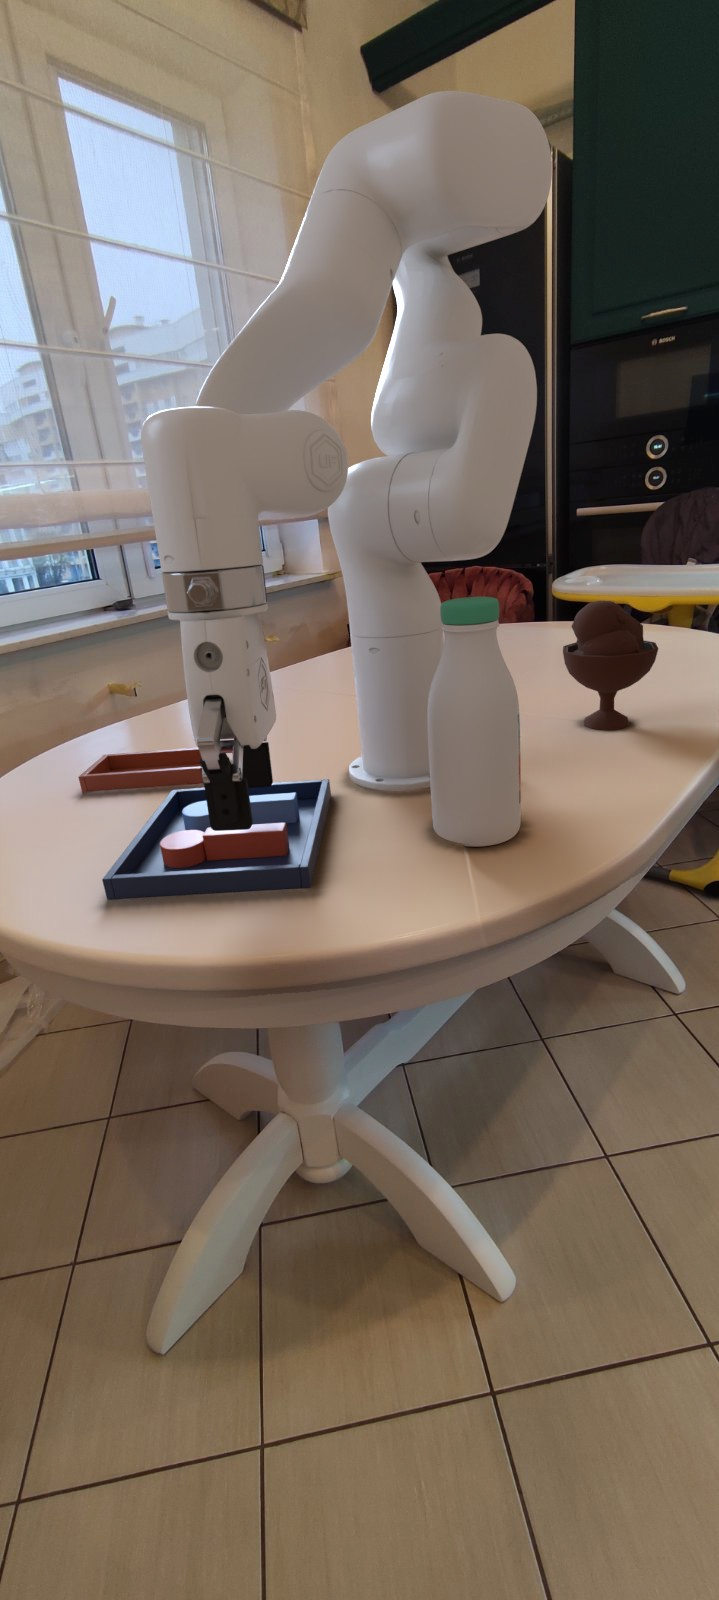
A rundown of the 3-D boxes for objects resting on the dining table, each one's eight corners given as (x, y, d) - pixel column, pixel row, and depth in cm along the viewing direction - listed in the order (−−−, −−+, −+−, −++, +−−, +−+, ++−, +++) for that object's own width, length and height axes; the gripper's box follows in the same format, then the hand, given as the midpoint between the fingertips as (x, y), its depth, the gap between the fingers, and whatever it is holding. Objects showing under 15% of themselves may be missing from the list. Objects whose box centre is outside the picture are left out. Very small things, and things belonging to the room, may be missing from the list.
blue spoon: (300, 810, 71) (297, 788, 70) (295, 827, 67) (292, 803, 66) (191, 818, 72) (186, 795, 71) (180, 835, 68) (175, 811, 67)
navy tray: (331, 799, 74) (329, 778, 74) (311, 893, 56) (308, 866, 56) (176, 810, 76) (172, 789, 75) (108, 904, 58) (101, 879, 57)
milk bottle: (520, 849, 60) (519, 603, 53) (428, 849, 62) (414, 609, 54) (520, 812, 67) (519, 590, 60) (437, 813, 69) (426, 596, 61)
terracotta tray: (225, 763, 89) (222, 745, 88) (210, 786, 81) (207, 767, 81) (108, 772, 90) (104, 754, 89) (82, 795, 83) (77, 776, 82)
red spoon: (291, 841, 65) (287, 816, 64) (285, 862, 61) (281, 836, 60) (171, 849, 65) (166, 825, 64) (157, 869, 62) (152, 844, 61)
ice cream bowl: (642, 740, 83) (650, 606, 77) (547, 731, 89) (548, 606, 83) (663, 715, 91) (671, 592, 85) (575, 709, 97) (577, 593, 91)
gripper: (242, 602, 46) (272, 846, 52) (282, 583, 62) (301, 771, 68) (128, 610, 47) (170, 851, 53) (197, 589, 63) (223, 775, 69)
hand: (244, 806), depth 60 cm, fingers open, 9 cm apart
